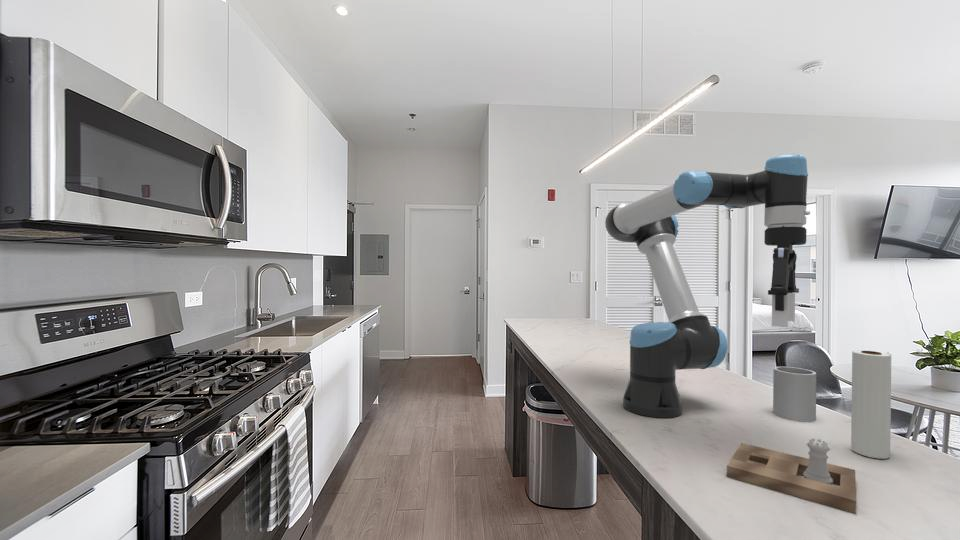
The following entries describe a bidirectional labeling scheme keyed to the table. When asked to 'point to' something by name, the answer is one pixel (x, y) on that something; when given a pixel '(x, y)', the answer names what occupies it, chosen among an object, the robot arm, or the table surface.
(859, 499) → the table surface
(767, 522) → the table surface
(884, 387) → the paper towel roll
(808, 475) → the rook chess piece
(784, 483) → the socket board
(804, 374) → the cup
